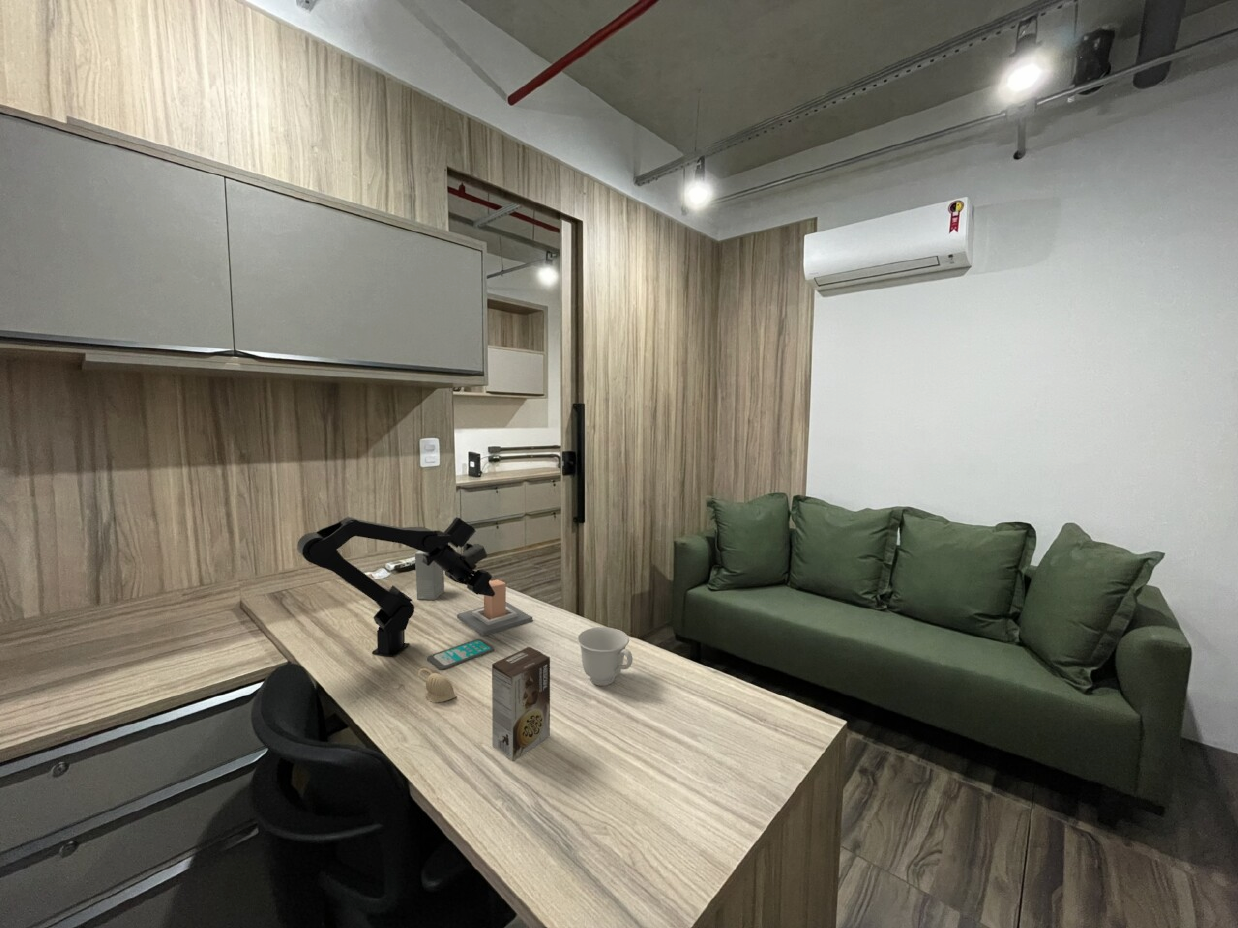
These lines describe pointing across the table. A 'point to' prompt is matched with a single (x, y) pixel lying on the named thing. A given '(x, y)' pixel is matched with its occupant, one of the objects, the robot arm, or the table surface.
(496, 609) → the terracotta block
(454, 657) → the smartphone
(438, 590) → the skincare box
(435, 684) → the beige creamer pitcher
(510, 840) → the table surface
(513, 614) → the dock board
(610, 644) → the teacup
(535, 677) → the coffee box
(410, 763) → the table surface
